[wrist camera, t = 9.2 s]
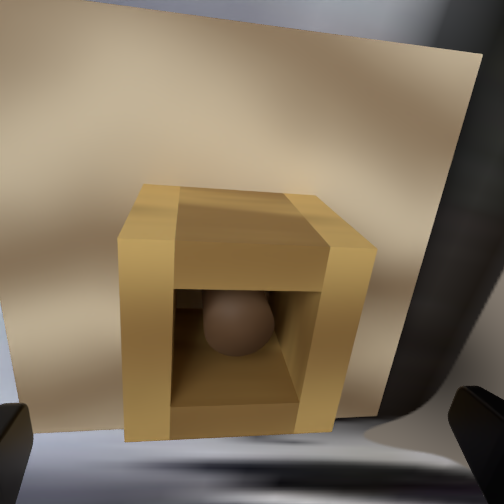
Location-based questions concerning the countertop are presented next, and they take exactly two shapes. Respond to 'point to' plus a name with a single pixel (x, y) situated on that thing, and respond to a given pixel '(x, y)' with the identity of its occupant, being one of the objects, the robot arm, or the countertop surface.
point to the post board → (201, 175)
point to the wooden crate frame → (236, 278)
